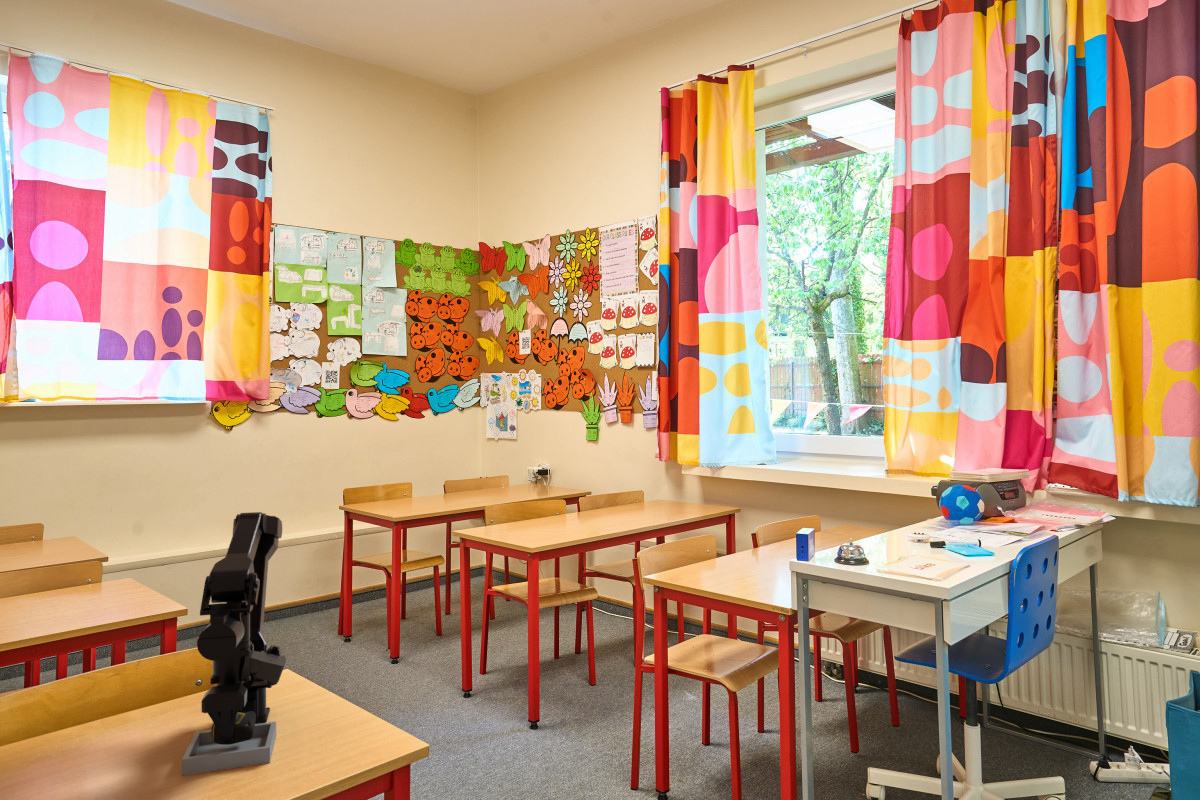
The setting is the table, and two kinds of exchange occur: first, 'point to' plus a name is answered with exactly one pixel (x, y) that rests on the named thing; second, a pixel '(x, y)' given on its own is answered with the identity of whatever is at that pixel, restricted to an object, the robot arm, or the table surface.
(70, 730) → the table surface
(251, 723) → the tape measure
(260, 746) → the tray
